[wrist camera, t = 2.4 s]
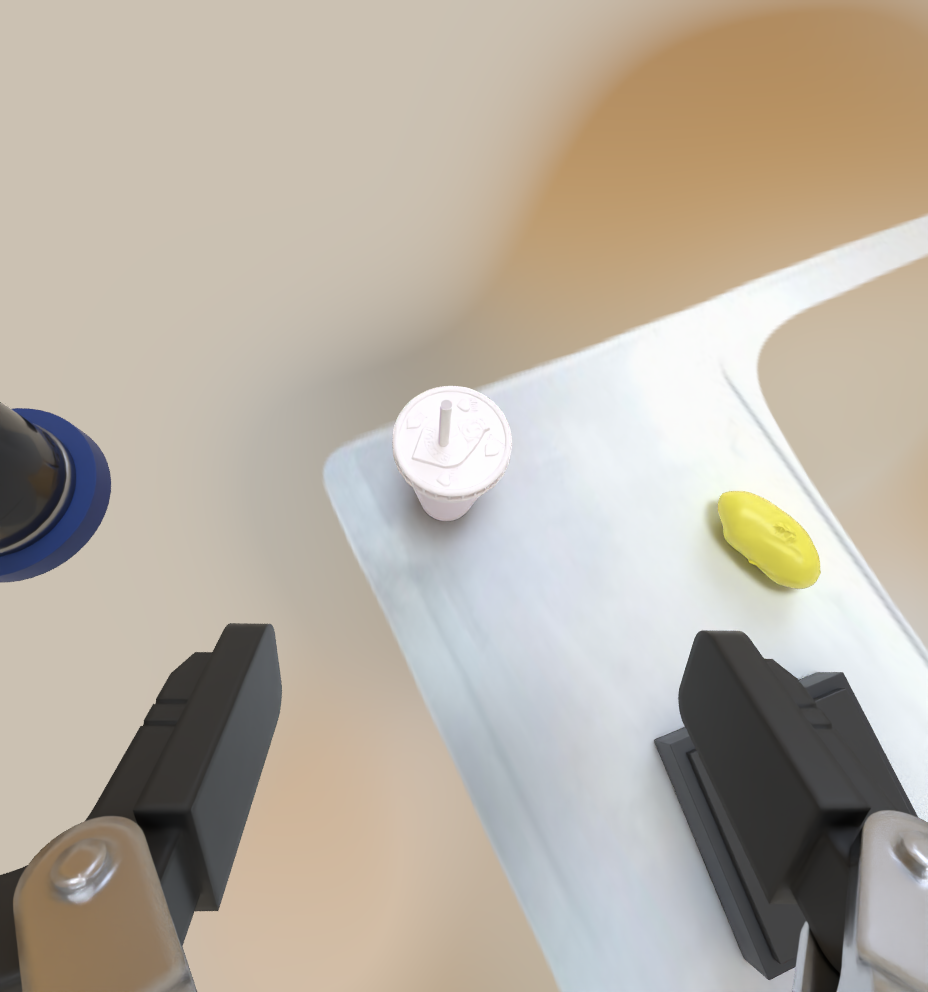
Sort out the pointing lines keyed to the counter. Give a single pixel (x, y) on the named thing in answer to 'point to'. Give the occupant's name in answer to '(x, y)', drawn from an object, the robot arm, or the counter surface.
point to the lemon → (769, 539)
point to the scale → (755, 922)
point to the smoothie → (451, 448)
